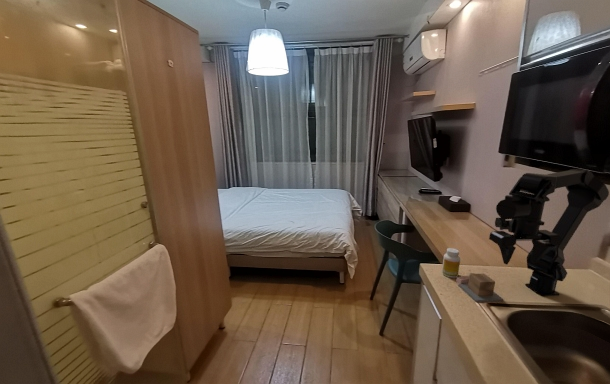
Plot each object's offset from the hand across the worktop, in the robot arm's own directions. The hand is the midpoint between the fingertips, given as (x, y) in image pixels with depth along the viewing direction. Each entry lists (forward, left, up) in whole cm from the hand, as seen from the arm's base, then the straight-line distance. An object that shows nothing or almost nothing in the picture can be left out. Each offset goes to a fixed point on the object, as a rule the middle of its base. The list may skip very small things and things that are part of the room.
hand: (519, 263), depth 86 cm
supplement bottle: (+12, -15, -12) cm, 23 cm away
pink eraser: (+10, -9, -12) cm, 18 cm away
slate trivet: (+9, -3, -12) cm, 15 cm away
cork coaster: (+4, -12, -12) cm, 18 cm away
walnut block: (+9, -3, -11) cm, 15 cm away
